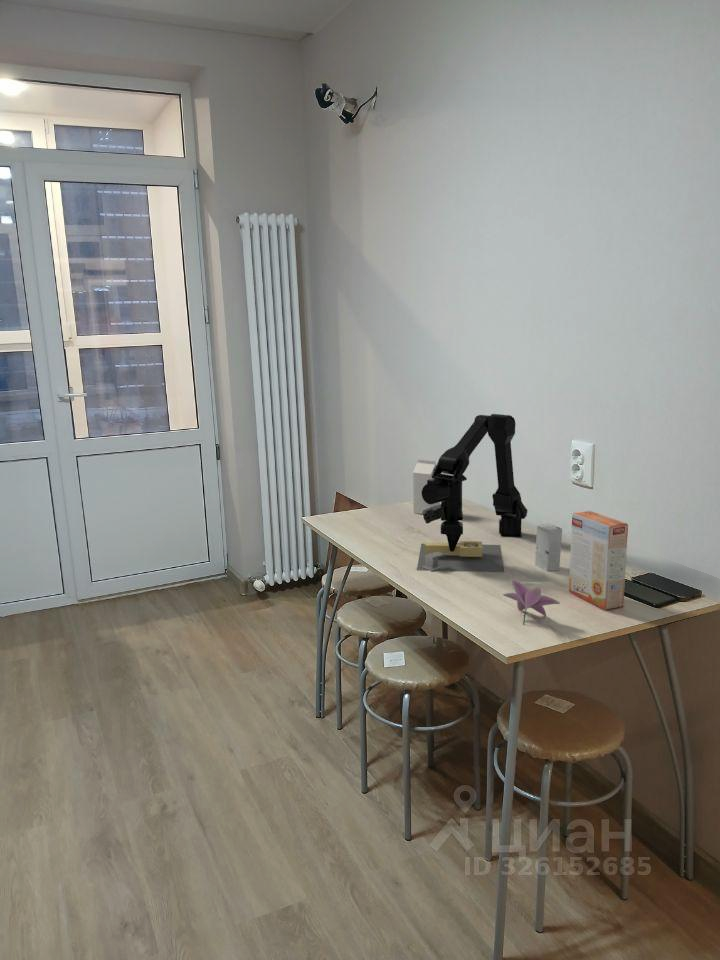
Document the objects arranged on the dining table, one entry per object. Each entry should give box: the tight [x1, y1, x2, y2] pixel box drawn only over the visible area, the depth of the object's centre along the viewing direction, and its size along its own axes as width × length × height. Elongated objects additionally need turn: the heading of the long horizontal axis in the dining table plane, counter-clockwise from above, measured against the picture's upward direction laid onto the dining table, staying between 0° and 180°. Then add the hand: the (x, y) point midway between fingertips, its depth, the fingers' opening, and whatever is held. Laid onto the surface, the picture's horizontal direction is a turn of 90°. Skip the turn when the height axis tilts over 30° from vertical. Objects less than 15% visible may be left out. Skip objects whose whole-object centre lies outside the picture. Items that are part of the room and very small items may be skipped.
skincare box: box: [534, 522, 563, 572], centre depth 207 cm, size 6×4×12 cm
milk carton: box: [412, 459, 441, 515], centre depth 268 cm, size 7×7×19 cm
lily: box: [502, 578, 561, 626], centre depth 173 cm, size 12×12×10 cm
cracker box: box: [568, 510, 629, 611], centre depth 183 cm, size 14×6×21 cm, turn 21°
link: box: [424, 540, 483, 557], centre depth 219 cm, size 16×6×3 cm, turn 83°
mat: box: [416, 543, 505, 573], centre depth 219 cm, size 24×25×1 cm
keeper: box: [421, 552, 445, 572], centre depth 210 cm, size 6×4×4 cm
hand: (451, 549), depth 219 cm, fingers closed on link, 3 cm apart
